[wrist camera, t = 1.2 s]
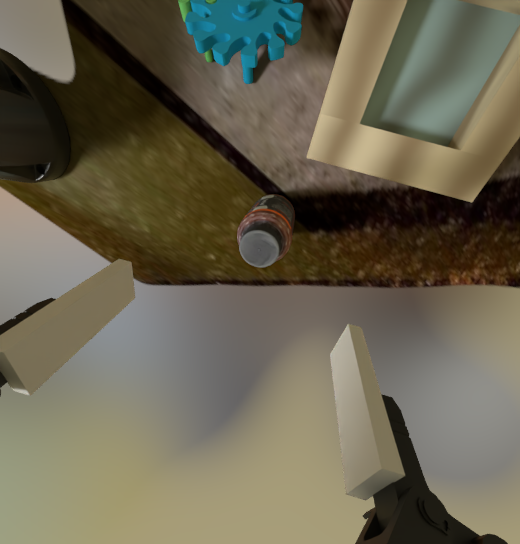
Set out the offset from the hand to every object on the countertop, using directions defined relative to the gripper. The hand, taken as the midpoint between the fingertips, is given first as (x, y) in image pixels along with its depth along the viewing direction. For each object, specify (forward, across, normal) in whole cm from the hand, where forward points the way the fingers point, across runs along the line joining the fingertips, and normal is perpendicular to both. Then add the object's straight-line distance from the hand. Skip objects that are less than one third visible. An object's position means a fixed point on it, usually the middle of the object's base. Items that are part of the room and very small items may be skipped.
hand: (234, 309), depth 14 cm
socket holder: (+20, +11, +17) cm, 29 cm away
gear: (+21, -7, +17) cm, 28 cm away
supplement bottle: (+21, 0, 0) cm, 21 cm away
